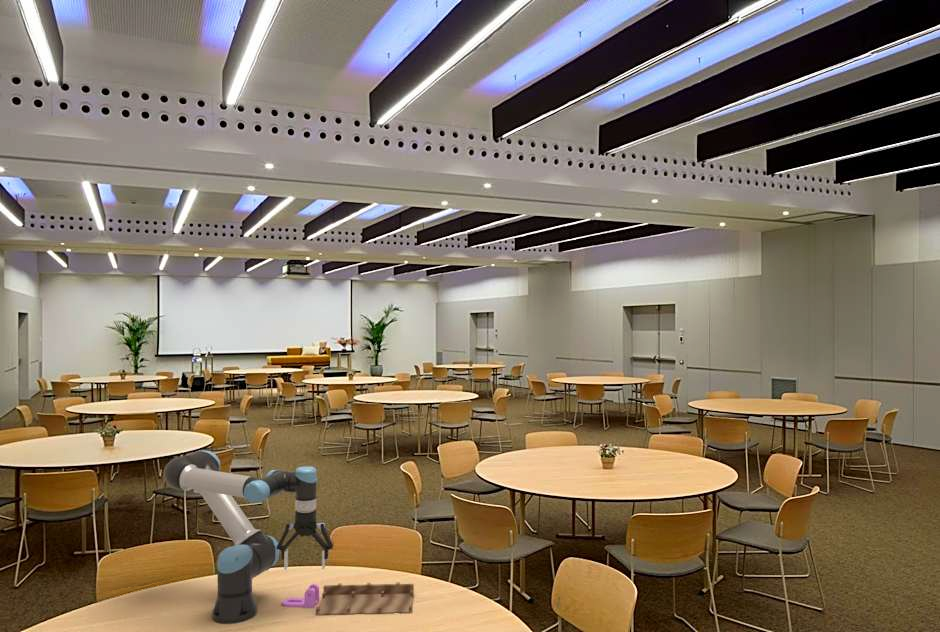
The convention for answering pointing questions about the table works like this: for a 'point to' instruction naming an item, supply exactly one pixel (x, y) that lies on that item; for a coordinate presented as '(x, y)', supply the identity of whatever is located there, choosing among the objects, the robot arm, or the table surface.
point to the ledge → (366, 599)
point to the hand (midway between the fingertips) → (304, 568)
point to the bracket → (307, 601)
